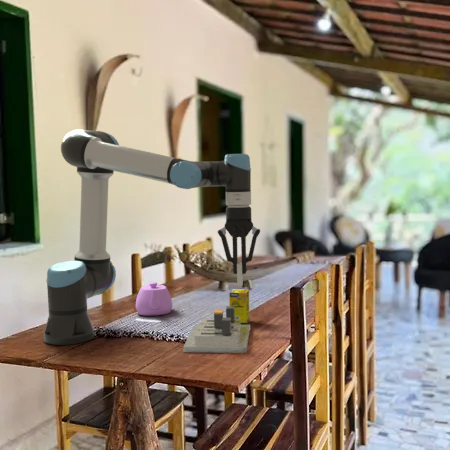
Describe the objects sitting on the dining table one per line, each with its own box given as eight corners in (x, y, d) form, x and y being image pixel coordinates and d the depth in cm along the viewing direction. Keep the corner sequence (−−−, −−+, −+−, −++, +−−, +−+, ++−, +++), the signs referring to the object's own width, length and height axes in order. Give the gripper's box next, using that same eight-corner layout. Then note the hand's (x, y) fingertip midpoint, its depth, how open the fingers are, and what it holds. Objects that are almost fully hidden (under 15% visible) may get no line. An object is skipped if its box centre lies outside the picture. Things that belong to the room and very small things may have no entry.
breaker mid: (214, 327, 173) (213, 312, 172) (215, 324, 176) (215, 310, 175) (222, 327, 172) (221, 312, 172) (223, 324, 175) (222, 310, 175)
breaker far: (226, 321, 179) (226, 308, 179) (227, 318, 182) (226, 306, 182) (233, 321, 179) (233, 308, 179) (234, 318, 182) (234, 306, 182)
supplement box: (247, 325, 190) (246, 292, 189) (229, 324, 192) (228, 292, 190) (249, 320, 196) (249, 289, 195) (232, 319, 197) (232, 288, 196)
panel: (183, 352, 163) (183, 338, 163) (195, 328, 187) (195, 316, 187) (246, 353, 162) (246, 338, 161) (250, 329, 186) (250, 316, 185)
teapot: (136, 321, 198) (135, 289, 197) (134, 307, 217) (133, 278, 216) (175, 318, 200) (174, 287, 199) (170, 305, 220) (169, 277, 219)
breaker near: (221, 333, 165) (221, 320, 165) (222, 330, 168) (222, 317, 168) (230, 334, 165) (229, 320, 165) (231, 331, 168) (230, 317, 168)
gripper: (215, 207, 167) (217, 287, 169) (260, 206, 166) (261, 287, 168) (218, 205, 174) (219, 282, 176) (260, 205, 173) (262, 282, 175)
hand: (240, 284), depth 172 cm, fingers closed
